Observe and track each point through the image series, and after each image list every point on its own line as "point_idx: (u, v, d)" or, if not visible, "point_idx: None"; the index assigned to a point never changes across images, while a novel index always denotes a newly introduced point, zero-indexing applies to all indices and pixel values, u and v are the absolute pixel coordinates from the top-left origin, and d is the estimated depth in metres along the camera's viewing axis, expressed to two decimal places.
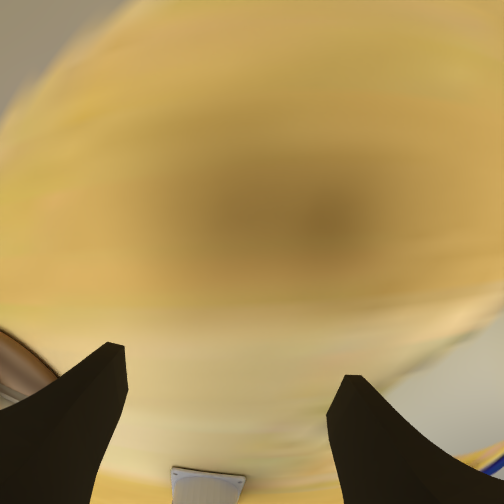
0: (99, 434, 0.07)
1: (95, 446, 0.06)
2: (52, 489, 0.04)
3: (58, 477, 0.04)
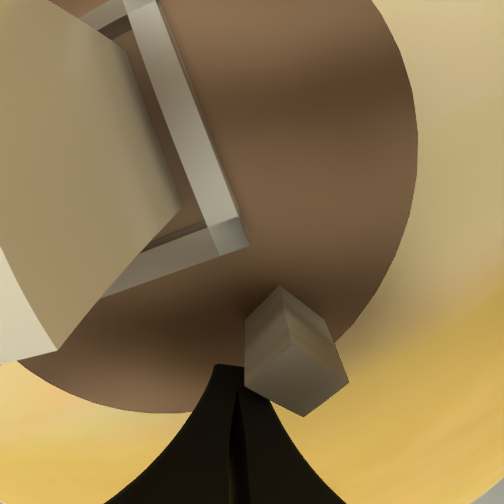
0: None
1: None
2: None
3: None
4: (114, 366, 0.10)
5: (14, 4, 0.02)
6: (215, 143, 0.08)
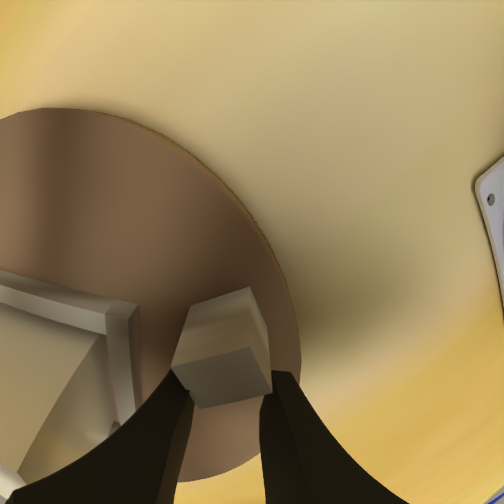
0: (180, 454, 0.07)
1: (177, 466, 0.07)
2: None
3: None
4: (210, 436, 0.12)
5: None
6: (69, 288, 0.09)
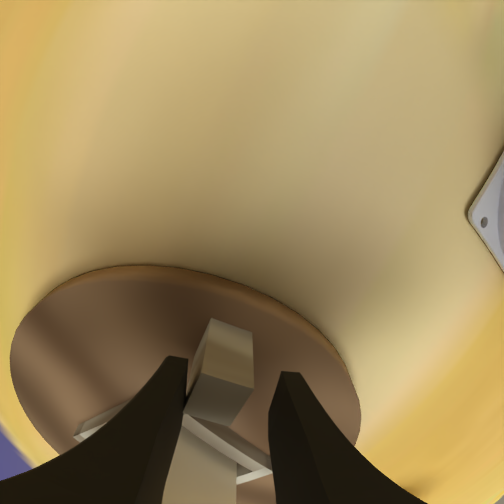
0: (169, 451, 0.07)
1: (165, 464, 0.07)
2: None
3: None
4: None
5: None
6: (129, 399, 0.12)
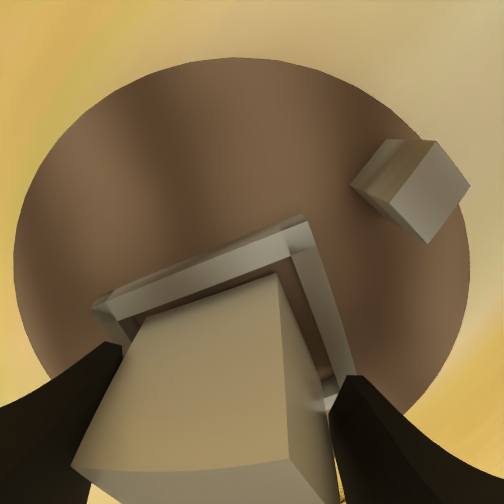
0: None
1: None
2: (49, 488, 0.04)
3: (55, 476, 0.04)
4: (416, 333, 0.11)
5: (103, 427, 0.06)
6: (222, 244, 0.10)
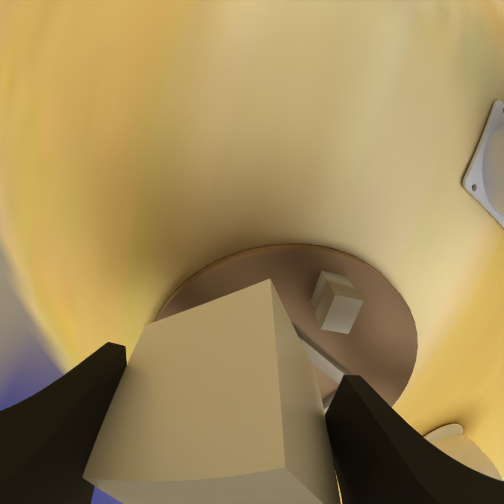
0: None
1: None
2: (53, 490, 0.04)
3: (59, 477, 0.04)
4: (384, 347, 0.19)
5: (111, 438, 0.06)
6: None
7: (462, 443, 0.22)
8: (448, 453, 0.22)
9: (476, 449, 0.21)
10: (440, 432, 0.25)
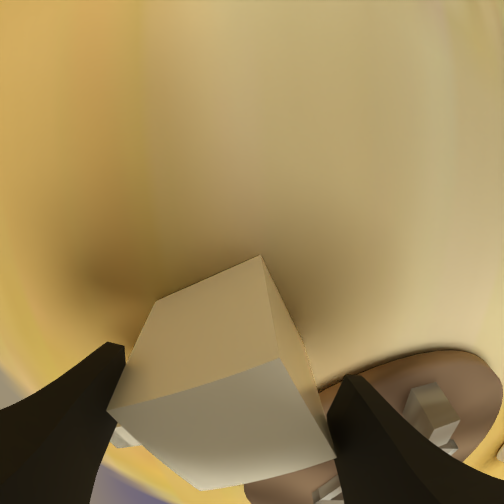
0: (99, 434, 0.07)
1: (95, 446, 0.06)
2: (52, 489, 0.04)
3: (58, 477, 0.04)
4: (473, 409, 0.15)
5: (132, 377, 0.08)
6: None
7: None
8: None
9: None
10: None
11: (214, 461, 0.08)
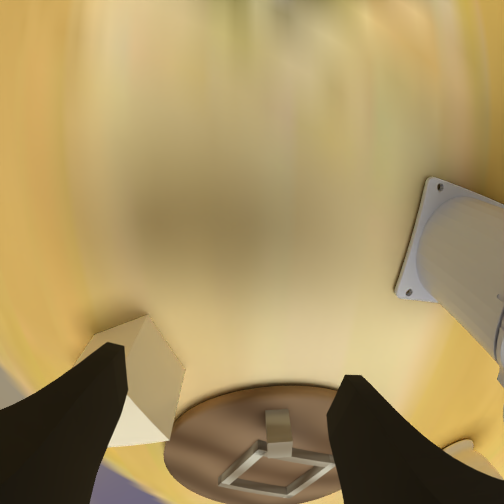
0: (99, 434, 0.07)
1: (95, 446, 0.06)
2: (52, 489, 0.04)
3: (58, 477, 0.04)
4: None
5: None
6: (242, 454, 0.22)
7: (465, 461, 0.23)
8: None
9: (479, 465, 0.21)
10: None
11: None
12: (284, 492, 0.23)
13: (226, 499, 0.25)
